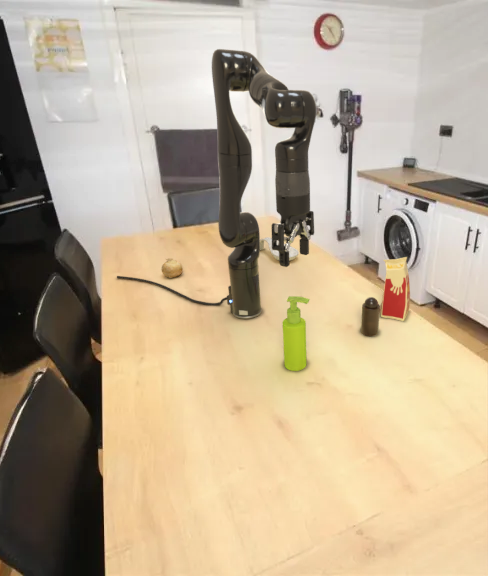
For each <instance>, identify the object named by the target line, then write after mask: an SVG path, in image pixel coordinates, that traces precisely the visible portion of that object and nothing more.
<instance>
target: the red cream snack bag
mask: <svg viewBox="0 0 488 576" xmlns="http://www.w3.org/2000/svg"><path fill="white" fill-rule="evenodd" d="M407 259H408V256H404V257H400V258H394V259H392V258H389V259H382V260H383V262H384V264H385V270H386V272H385V280H384V285H383V286H384V287H383V293H382V298H381V303H380V313H379V315H380V317H381V318H385V319H392V320H397V321H401V322H405V320H406V318H407V316H408V313H409V311H410V305H411V287H410V286H411V284H410V275H409V270H408V263H407Z"/></svg>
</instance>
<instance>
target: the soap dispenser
mask: <svg viewBox="0 0 488 576" xmlns="http://www.w3.org/2000/svg"><path fill="white" fill-rule="evenodd" d="M310 300H311V299H310V298H307V297H304V296H297V295H296V296H295V295H294V296H293V295H291V296H290V295H289V296H288V297H287V298H286V302H287V303H289V307H288V308H287V309H286V318H284V319H283V320H282V340H283V341H282V343H283V362H284V367H285V369H287V370H289V371H292V372H298V371H302V370H303V369H306V367H307V322H306V319H304V318H303V317H302V315H301V308H300V307H298V303H302V304H305V305H307V304H308V303H309V302H310Z"/></svg>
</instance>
